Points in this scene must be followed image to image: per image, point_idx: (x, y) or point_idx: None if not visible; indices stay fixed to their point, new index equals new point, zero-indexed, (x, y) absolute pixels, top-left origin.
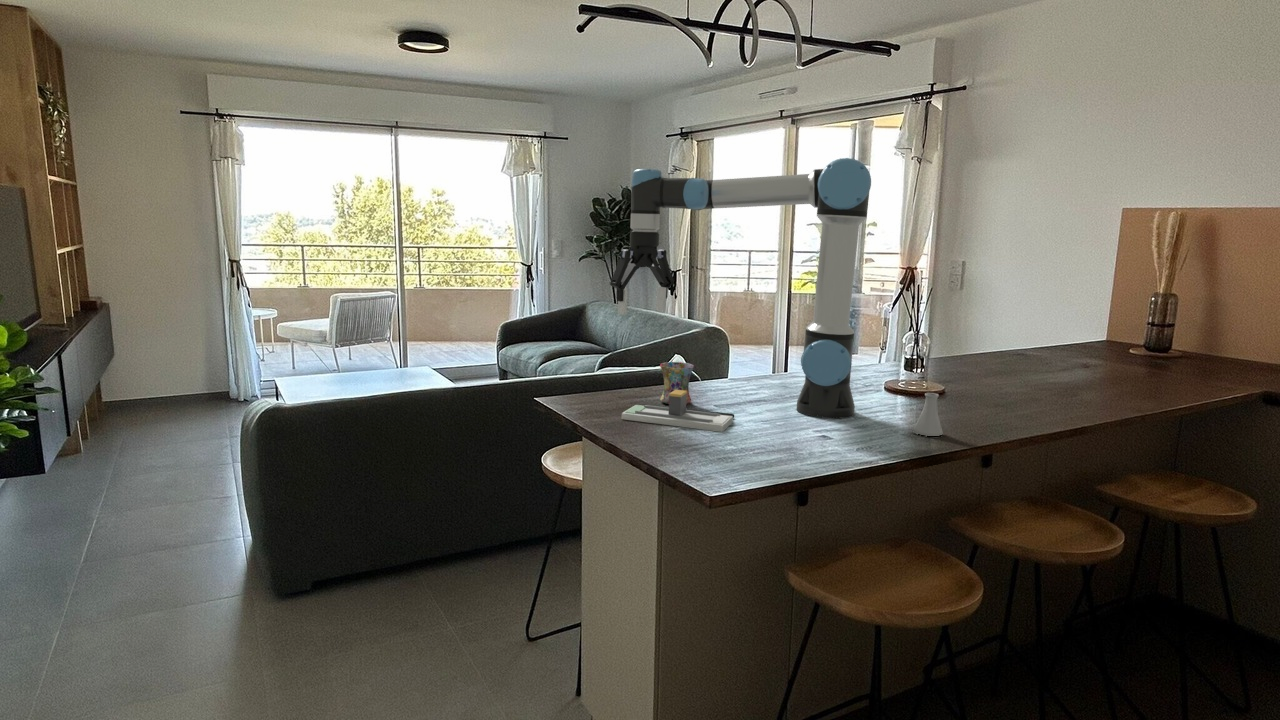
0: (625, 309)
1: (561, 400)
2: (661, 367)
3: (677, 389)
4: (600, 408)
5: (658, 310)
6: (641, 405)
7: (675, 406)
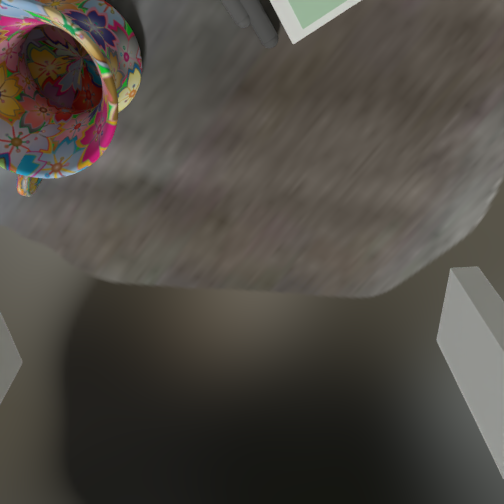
0: (485, 297)
1: (398, 269)
2: (117, 119)
3: (85, 22)
4: (373, 132)
5: (12, 348)
6: (281, 22)
7: None
